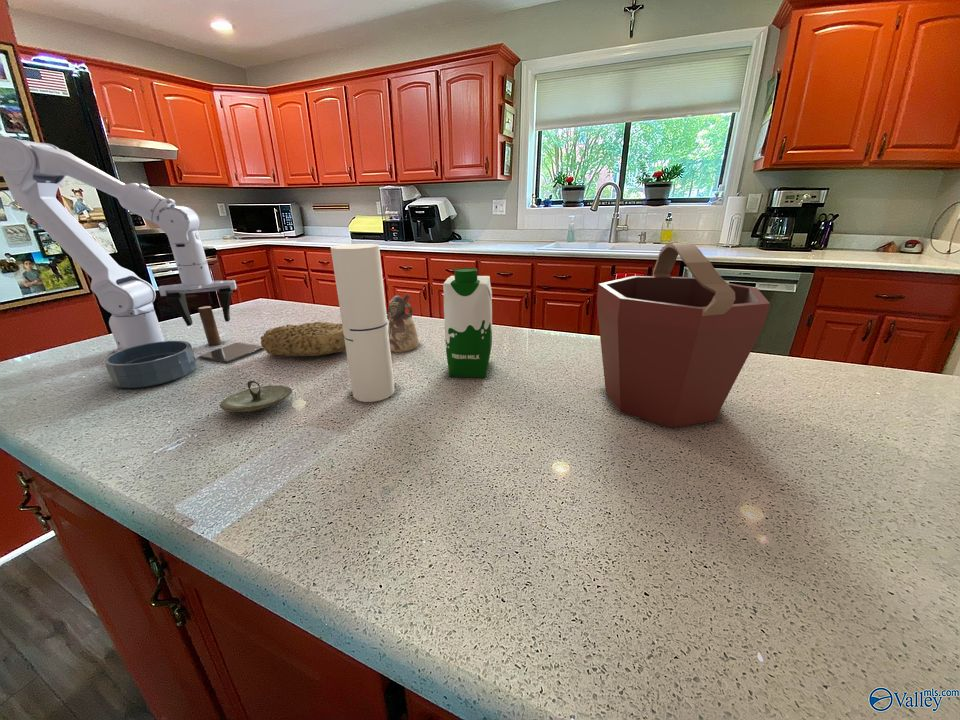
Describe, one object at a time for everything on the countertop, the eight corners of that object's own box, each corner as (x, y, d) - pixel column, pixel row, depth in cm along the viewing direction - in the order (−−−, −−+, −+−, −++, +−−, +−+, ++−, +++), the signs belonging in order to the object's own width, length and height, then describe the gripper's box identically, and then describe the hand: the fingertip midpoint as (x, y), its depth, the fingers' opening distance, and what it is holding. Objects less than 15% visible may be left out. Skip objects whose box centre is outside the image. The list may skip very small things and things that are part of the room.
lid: (239, 436, 60) (236, 410, 58) (208, 404, 64) (205, 378, 62) (303, 410, 68) (304, 386, 66) (272, 383, 72) (271, 360, 70)
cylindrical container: (384, 403, 66) (365, 249, 56) (345, 399, 67) (320, 248, 58) (400, 385, 72) (386, 243, 63) (364, 382, 74) (345, 243, 64)
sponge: (260, 366, 85) (338, 355, 79) (251, 330, 84) (329, 316, 78) (303, 355, 97) (373, 345, 91) (296, 323, 96) (366, 311, 90)
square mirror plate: (199, 357, 87) (199, 355, 87) (236, 344, 94) (236, 342, 94) (228, 363, 84) (227, 361, 83) (264, 349, 91) (263, 347, 91)
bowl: (97, 384, 75) (87, 359, 73) (170, 359, 86) (163, 337, 84) (141, 395, 70) (131, 369, 68) (212, 367, 81) (205, 344, 80)
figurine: (384, 344, 93) (378, 293, 89) (413, 339, 96) (409, 290, 91) (391, 354, 87) (385, 300, 83) (422, 348, 90) (418, 296, 85)
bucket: (743, 457, 51) (800, 259, 41) (572, 421, 60) (586, 251, 50) (724, 382, 71) (759, 238, 62) (599, 364, 80) (613, 235, 71)
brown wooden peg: (206, 345, 94) (195, 308, 91) (216, 341, 97) (206, 305, 93) (213, 346, 94) (202, 309, 90) (223, 342, 96) (213, 306, 92)
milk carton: (444, 378, 75) (438, 271, 67) (451, 360, 83) (447, 263, 75) (490, 380, 74) (489, 272, 66) (493, 361, 82) (493, 263, 75)
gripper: (146, 269, 82) (167, 331, 87) (226, 263, 87) (241, 322, 92) (157, 264, 88) (176, 323, 93) (231, 259, 93) (245, 315, 98)
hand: (209, 322), depth 93 cm, fingers open, 7 cm apart
